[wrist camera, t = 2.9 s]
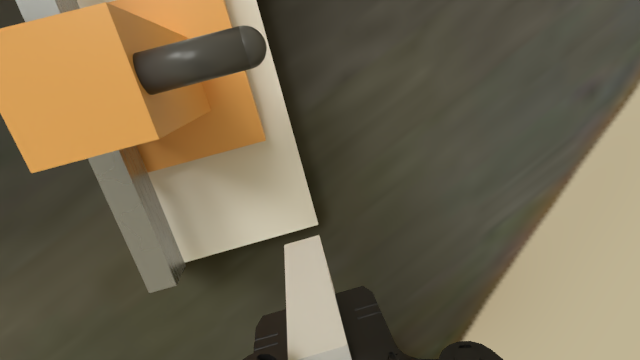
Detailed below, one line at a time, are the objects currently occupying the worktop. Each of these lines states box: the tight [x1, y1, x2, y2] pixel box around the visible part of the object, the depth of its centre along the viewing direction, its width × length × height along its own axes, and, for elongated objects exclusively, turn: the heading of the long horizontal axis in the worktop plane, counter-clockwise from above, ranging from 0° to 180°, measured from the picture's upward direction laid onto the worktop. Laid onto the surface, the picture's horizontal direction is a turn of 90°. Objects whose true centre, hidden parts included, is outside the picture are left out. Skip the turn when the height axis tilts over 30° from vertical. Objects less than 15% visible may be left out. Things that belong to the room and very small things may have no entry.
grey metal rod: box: [16, 0, 186, 293], centre depth 16 cm, size 21×3×2 cm, turn 14°
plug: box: [0, 0, 267, 173], centre depth 16 cm, size 8×9×13 cm
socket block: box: [77, 0, 318, 262], centre depth 19 cm, size 24×11×4 cm, turn 14°
